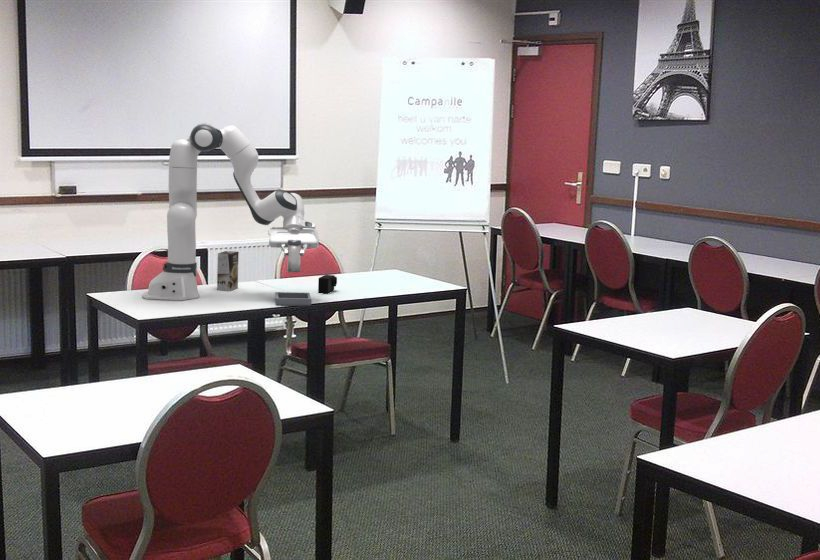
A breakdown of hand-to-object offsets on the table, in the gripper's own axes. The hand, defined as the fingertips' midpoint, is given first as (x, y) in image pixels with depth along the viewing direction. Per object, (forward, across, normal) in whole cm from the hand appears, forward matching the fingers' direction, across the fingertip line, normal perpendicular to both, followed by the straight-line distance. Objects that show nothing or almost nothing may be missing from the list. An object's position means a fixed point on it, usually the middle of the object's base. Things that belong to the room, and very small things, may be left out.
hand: (294, 254), depth 386 cm
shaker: (+4, 0, +5) cm, 7 cm away
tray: (+14, 0, +14) cm, 20 cm away
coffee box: (-8, -27, +36) cm, 46 cm away
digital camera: (-5, +16, +33) cm, 37 cm away
